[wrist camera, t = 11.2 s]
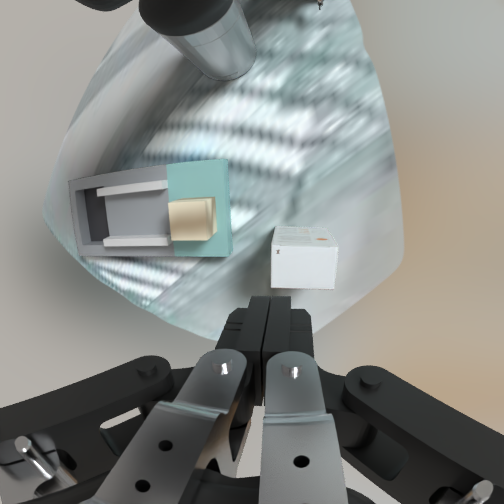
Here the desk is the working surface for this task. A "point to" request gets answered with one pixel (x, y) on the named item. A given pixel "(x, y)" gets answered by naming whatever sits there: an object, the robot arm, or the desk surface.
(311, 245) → the small box
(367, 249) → the desk surface
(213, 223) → the block
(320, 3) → the figurine
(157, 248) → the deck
